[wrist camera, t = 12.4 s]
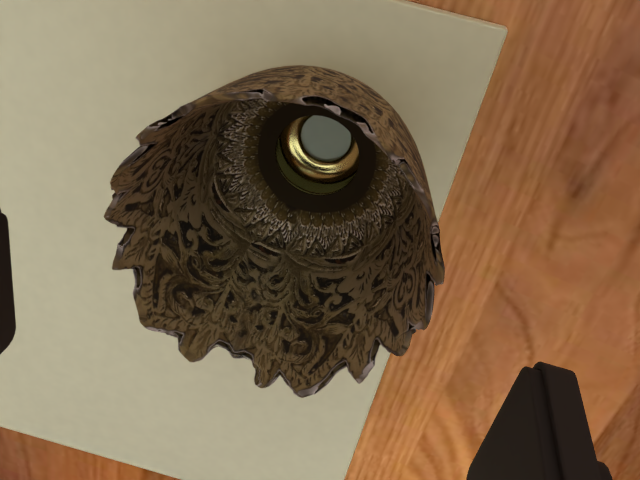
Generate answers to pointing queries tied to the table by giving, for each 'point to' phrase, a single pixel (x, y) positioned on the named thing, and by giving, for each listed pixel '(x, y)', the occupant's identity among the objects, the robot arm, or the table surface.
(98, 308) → the mat
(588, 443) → the robot arm
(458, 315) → the table surface
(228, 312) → the brown jagged-rimmed vessel
